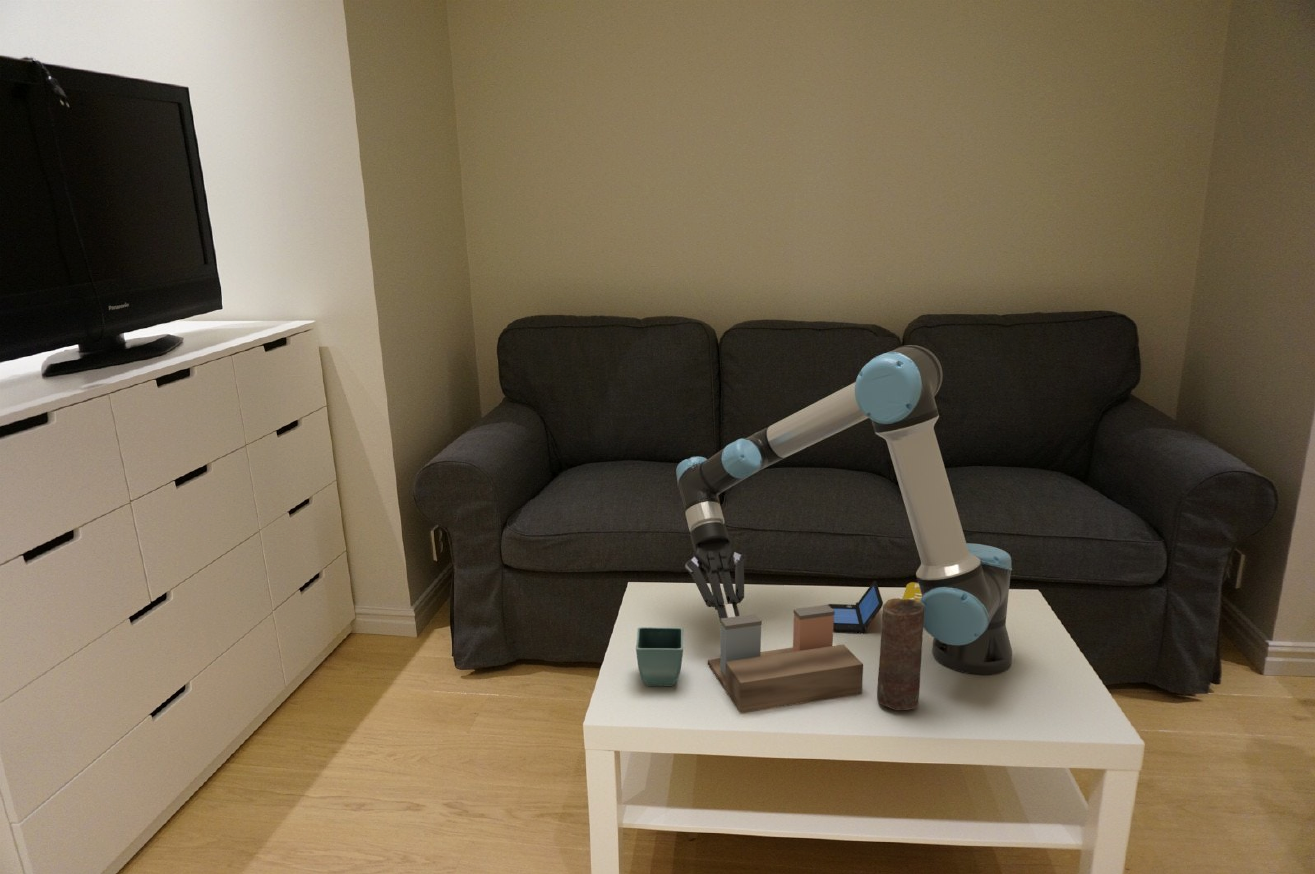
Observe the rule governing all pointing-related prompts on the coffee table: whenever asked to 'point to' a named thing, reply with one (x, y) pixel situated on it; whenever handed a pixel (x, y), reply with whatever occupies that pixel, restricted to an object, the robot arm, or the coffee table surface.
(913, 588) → the element tile
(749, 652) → the key slate
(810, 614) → the key terracotta
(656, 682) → the flower pot
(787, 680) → the key block
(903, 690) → the candle
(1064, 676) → the coffee table surface
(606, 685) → the coffee table surface
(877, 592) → the handheld game console
